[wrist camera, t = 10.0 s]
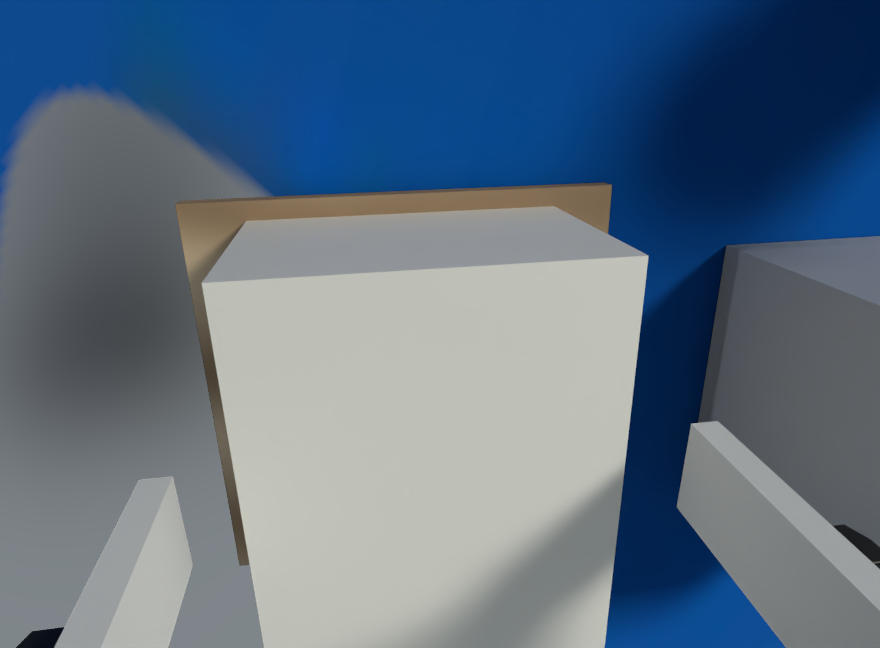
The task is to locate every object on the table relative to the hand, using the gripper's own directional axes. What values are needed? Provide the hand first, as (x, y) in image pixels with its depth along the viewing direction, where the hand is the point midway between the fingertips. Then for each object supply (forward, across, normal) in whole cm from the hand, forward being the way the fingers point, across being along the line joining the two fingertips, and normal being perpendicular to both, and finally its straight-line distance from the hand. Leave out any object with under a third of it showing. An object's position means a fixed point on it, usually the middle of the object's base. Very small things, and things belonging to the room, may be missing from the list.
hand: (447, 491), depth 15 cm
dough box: (+7, +16, -2) cm, 18 cm away
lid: (+7, 0, -1) cm, 7 cm away
